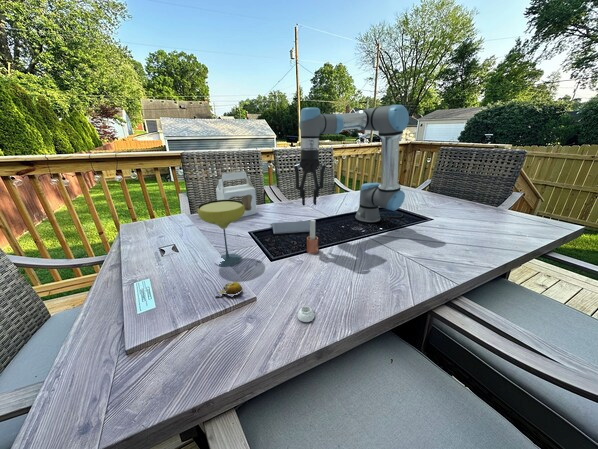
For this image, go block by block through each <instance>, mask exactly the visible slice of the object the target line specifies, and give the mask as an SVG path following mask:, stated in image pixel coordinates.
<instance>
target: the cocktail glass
mask: <svg viewBox="0 0 598 449" xmlns="http://www.w3.org/2000/svg"><path fill="white" fill-rule="evenodd" d="M244 212H245V207H244V204H243V201H240V200H237V199H229V200H217V199H216V200H210V201H207V202H203V203H201V204H199V205H198V206H197V215H198V217H199V219H200V220H202V221H203V222H205V223H208V224H211V225H215V226H218V227H219V228H220V229H222V230H223V238H224V246H225V247H224V248H225V254H223V255H220V256H221V258H223V259H224V260H225V261H222V262H220V263H221V264H219V266H218V267H221V268H222V267H223V268H228V267H232V266H235V265H237V264H239V263H240V262H241V260H242V259H241V256H240V255H238V254H235V253H229V250H228V244H227V235H226V229H227V228H228V227H229V225H230V224H232V223H235V222H236V221H238V220H239V219H241V218H242V217H241V216H242V215H243V214H244Z"/></svg>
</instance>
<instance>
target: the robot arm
mask: <svg viewBox="0 0 598 449" xmlns="http://www.w3.org/2000/svg"><path fill="white" fill-rule="evenodd" d="M409 121H410V115H409V111H408V109H407V108H406V107H405V106H404V105H402V104H391V105H383V106H374V107H370V108H366V109H358V110H356V112H347V113H333V114H331V113H330V114H329V113H325V114H324V113H321V109H320V108H319V107H303V108H302V109H301V110H300V120H299V123H298V126H299V130H300V149H301V150H300V161H299V163H298V164H294V165H293V170H294V182H295V183H294V184H295V186H294V187H295V189H296V190H298V191H299V197H300V198H301V205H302V206H306V190H305V189H304V188H305V183H306V180H307V175H308V173H311V174H312V179H313V184H314V188H313V193H312V194H313V195H312V196H313V197H312V198H313V200H312V204H313V205H314V206H317V198H318V197H319V196H320V195H319V194H320V190H321V189H323V188H324V177H325V169H326V167H327V166H326V164H322V163H320V150H319V149H320V135H322V134H323V135H330V134H331V135H335V134H340V133H341V132H342V131H346V130H357V131H371V132H373V131H374V132H377V133H378V137H379V138H380V139H381V153H380V154H381V157H380V159H381V160H380V161H381V162H380V170H381V171H380V172H381V173H380V181H381V182H367V183H366V182H365V183H362V184H361V186H360V190H359V202H358V203H359V205H358V209H357V211H356V214H355V217H354V220H356V221H357V222H359V223H363V224H376V223H380V221H381V218H391V219H400V218H403V216H404V213H401V215H399V216H393V215H392V216H391V215H380V214H381V213H380V210H379V208H382V209H385V210H387V211H393V212H394V211H397V210H398V209H400V208H401V207H402V205H404V204H403V203H404V202H405V198H406V194H405V192H404V191H403V190H401V186H402V185H401V184H400V183H399V161H400V160H399V159H400V138H401V136H402V135H403V134H404V131H405V130H406V129H407V127H408V125H409ZM300 168H301V170H302V175H301V180H300V171H299V170H300ZM317 169H319V180H318V176H317ZM318 181H319V182H318Z"/></svg>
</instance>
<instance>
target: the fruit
mask: <svg viewBox="0 0 598 449" xmlns="http://www.w3.org/2000/svg"><path fill="white" fill-rule="evenodd" d="M241 290H242V291H243V286H242V285H241V284H240V283H239V282H237V281H233V282H228V283H226V284H225V285H224V286H223V289H221V290H220V291H219V292H218V293H217V294H224V293H225V291H226V293H227V294H236V293H238V292H240V291H241ZM240 294H241V293H240ZM240 294H238V295H234V296H233V297H234V298H233V297H232V298H231V299H235V298H238V297H239V296H240Z"/></svg>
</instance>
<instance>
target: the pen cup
mask: <svg viewBox="0 0 598 449" xmlns="http://www.w3.org/2000/svg"><path fill="white" fill-rule="evenodd" d="M306 252H307V253H308V254H317V253H319V237H318V236H316V235H315V240H310V235H308V236H307V237H306Z"/></svg>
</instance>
